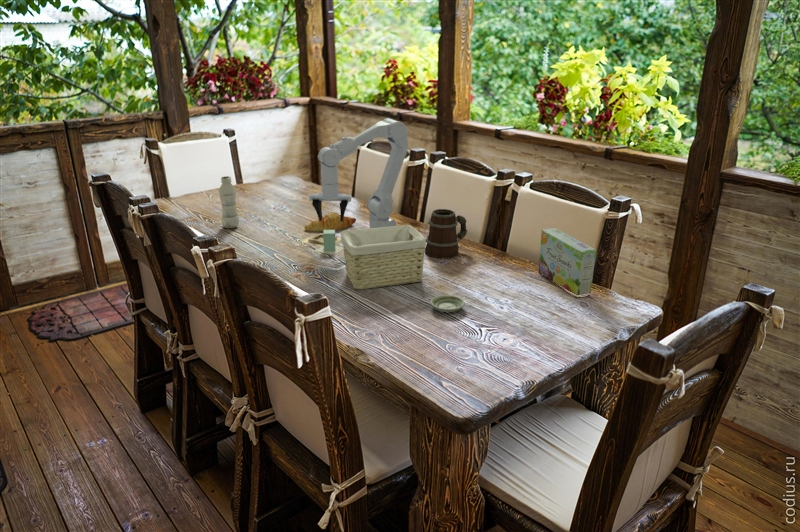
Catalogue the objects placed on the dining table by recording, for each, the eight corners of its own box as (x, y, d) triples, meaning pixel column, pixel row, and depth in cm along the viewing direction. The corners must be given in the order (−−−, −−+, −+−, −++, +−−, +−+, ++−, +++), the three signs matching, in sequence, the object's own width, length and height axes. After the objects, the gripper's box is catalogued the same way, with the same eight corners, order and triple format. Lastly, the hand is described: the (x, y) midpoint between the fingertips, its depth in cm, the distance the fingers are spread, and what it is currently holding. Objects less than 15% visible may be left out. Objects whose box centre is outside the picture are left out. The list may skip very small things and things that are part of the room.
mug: (436, 261, 205) (437, 218, 199) (419, 250, 214) (420, 209, 209) (474, 254, 211) (477, 212, 206) (456, 243, 221) (458, 204, 216)
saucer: (444, 299, 177) (445, 291, 176) (471, 309, 170) (471, 301, 170) (423, 309, 170) (423, 301, 169) (449, 320, 164) (450, 312, 163)
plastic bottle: (242, 225, 239) (237, 175, 232) (236, 230, 233) (231, 179, 225) (226, 224, 240) (221, 175, 232) (219, 229, 233) (214, 179, 226)
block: (335, 247, 215) (335, 229, 212) (335, 250, 211) (334, 233, 209) (324, 247, 214) (323, 229, 212) (323, 251, 211) (323, 233, 208)
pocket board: (347, 240, 223) (347, 236, 222) (330, 249, 214) (330, 245, 213) (316, 234, 229) (316, 230, 228) (298, 243, 220) (298, 238, 219)
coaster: (345, 249, 214) (345, 247, 214) (332, 256, 208) (332, 254, 208) (327, 245, 218) (326, 243, 218) (313, 252, 211) (313, 250, 211)
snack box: (536, 273, 196) (540, 229, 190) (551, 270, 197) (555, 227, 192) (575, 299, 177) (582, 251, 171) (591, 296, 179) (598, 248, 173)
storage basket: (351, 292, 180) (350, 246, 175) (340, 272, 194) (339, 229, 189) (427, 284, 187) (428, 239, 181) (410, 265, 201) (411, 223, 196)
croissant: (307, 243, 231) (309, 228, 225) (299, 225, 236) (301, 210, 230) (358, 234, 240) (361, 219, 234) (349, 217, 245) (352, 202, 239)
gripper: (352, 180, 211) (353, 217, 216) (311, 179, 212) (313, 216, 217) (349, 185, 204) (350, 223, 209) (307, 184, 206) (309, 222, 211)
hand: (331, 220), depth 213 cm, fingers open, 7 cm apart
